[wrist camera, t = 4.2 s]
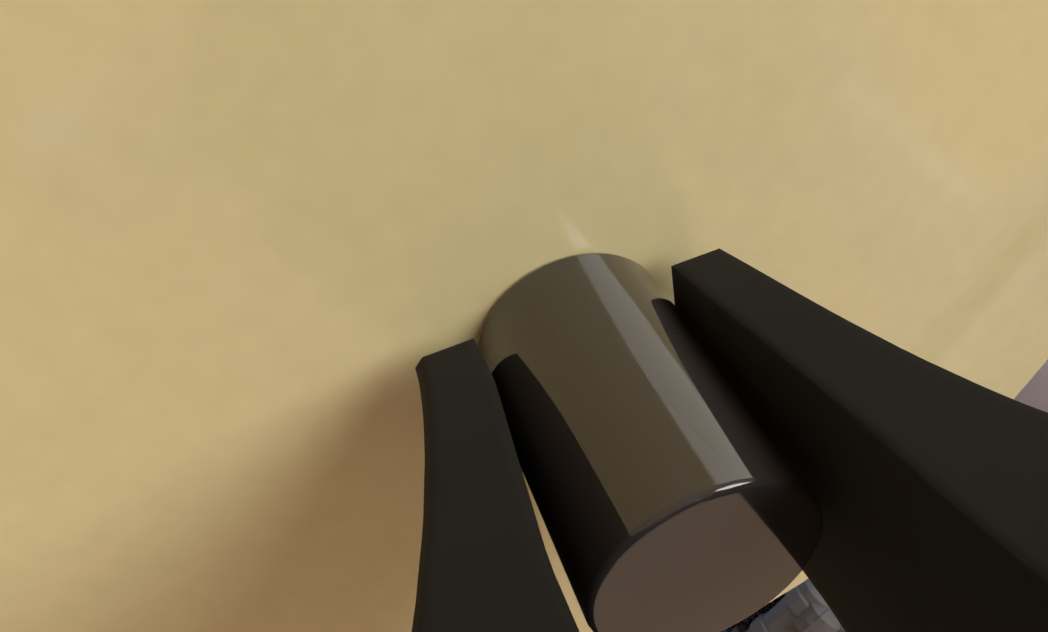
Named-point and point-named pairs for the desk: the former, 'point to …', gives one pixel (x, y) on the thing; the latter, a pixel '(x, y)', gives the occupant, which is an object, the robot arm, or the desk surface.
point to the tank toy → (796, 614)
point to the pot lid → (470, 281)
